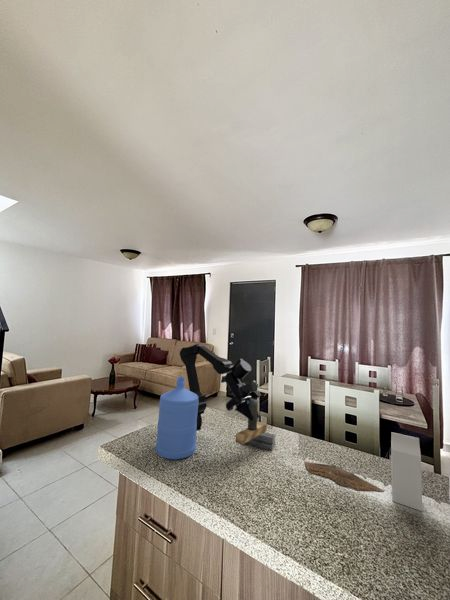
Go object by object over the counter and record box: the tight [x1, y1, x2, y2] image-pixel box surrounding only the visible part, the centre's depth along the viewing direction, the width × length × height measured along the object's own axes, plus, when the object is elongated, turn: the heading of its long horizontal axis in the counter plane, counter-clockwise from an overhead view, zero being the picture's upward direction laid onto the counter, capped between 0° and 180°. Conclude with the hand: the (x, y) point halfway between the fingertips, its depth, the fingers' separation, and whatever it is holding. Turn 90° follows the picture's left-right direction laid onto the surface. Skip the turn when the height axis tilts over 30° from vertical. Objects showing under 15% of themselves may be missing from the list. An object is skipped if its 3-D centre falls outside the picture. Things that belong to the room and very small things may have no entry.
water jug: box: [155, 376, 199, 460], centre depth 100 cm, size 16×16×28 cm
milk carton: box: [390, 431, 423, 512], centre depth 77 cm, size 7×7×19 cm
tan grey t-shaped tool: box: [234, 399, 268, 445], centre depth 101 cm, size 18×4×14 cm, turn 140°
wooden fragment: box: [304, 461, 385, 493], centre depth 87 cm, size 26×11×1 cm, turn 53°
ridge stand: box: [243, 432, 276, 452], centre depth 108 cm, size 12×6×4 cm, turn 66°
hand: (255, 418), depth 100 cm, fingers closed on tan grey t-shaped tool, 4 cm apart
